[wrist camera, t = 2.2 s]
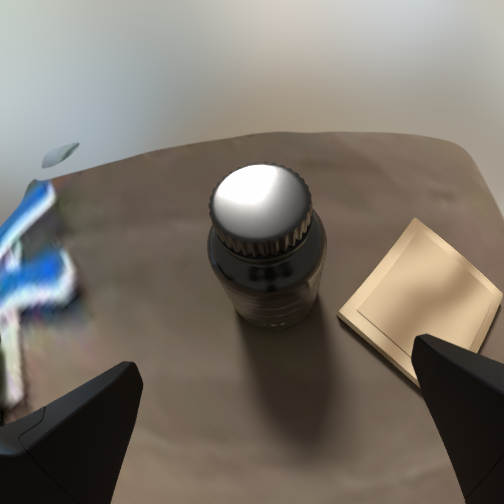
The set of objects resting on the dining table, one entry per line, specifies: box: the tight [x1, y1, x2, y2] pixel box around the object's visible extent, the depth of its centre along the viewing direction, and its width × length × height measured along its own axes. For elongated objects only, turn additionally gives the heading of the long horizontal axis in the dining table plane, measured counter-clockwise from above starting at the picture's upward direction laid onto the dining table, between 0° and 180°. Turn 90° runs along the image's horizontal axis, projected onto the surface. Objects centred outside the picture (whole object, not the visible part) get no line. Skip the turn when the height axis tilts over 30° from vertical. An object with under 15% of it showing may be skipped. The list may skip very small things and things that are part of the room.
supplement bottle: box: [207, 162, 327, 330], centre depth 18 cm, size 7×7×12 cm
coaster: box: [337, 218, 503, 388], centre depth 20 cm, size 12×12×1 cm
